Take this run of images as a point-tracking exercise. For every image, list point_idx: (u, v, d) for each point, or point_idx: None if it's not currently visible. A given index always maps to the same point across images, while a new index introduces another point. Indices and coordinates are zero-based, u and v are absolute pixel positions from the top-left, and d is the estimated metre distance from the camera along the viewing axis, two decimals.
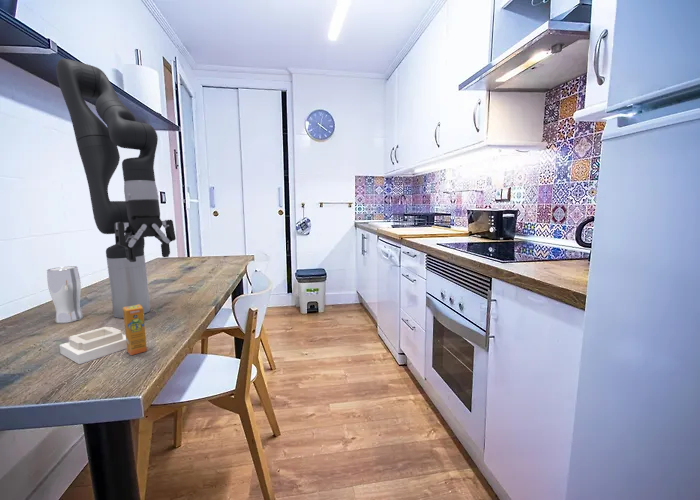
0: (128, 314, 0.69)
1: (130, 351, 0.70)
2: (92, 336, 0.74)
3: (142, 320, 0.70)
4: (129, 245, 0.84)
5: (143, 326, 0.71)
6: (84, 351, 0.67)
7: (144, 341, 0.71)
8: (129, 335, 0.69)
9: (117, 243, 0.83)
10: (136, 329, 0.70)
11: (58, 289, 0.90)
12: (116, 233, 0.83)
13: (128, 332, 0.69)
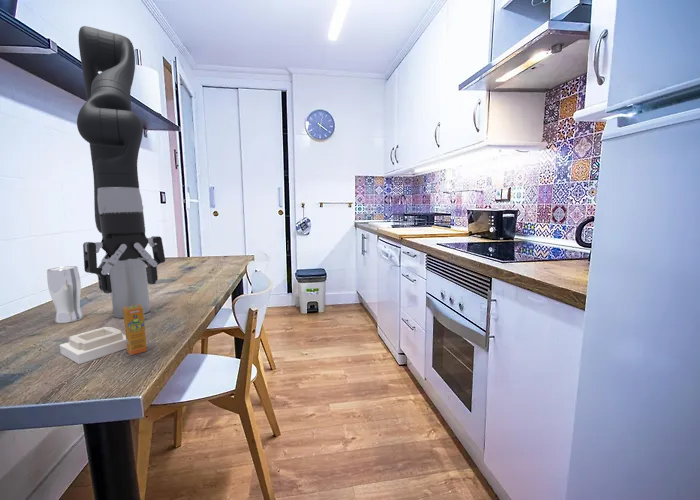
0: (128, 314, 0.68)
1: (130, 351, 0.70)
2: (92, 336, 0.74)
3: (142, 320, 0.70)
4: (103, 272, 0.64)
5: (143, 326, 0.71)
6: (84, 351, 0.67)
7: (144, 341, 0.71)
8: (129, 335, 0.69)
9: (86, 270, 0.63)
10: (136, 329, 0.70)
11: (58, 289, 0.90)
12: (85, 256, 0.63)
13: (128, 332, 0.69)
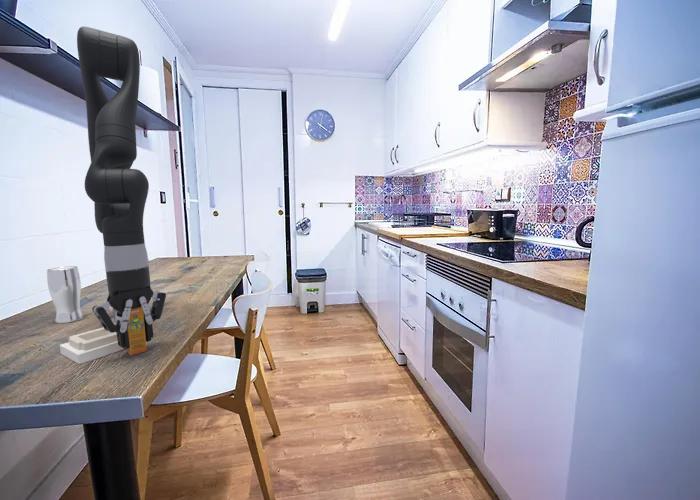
0: None
1: (130, 351, 0.70)
2: (92, 336, 0.74)
3: (142, 320, 0.70)
4: (121, 330, 0.68)
5: (143, 326, 0.71)
6: (84, 351, 0.67)
7: (144, 341, 0.71)
8: (129, 335, 0.69)
9: (106, 329, 0.67)
10: (136, 329, 0.70)
11: (58, 289, 0.90)
12: (100, 320, 0.66)
13: (128, 332, 0.69)
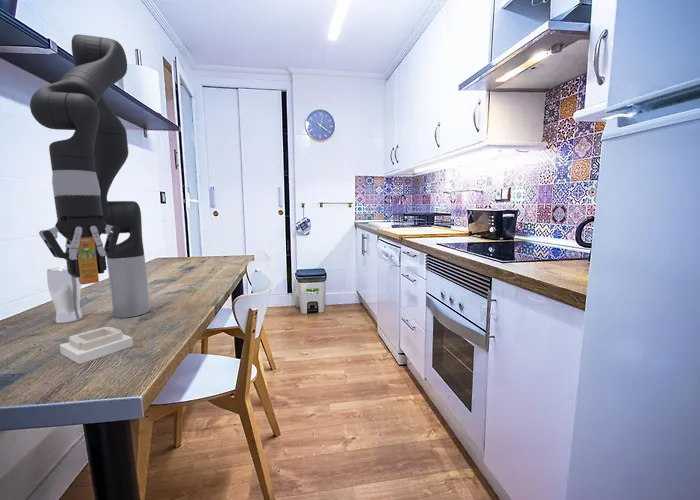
0: None
1: (81, 280, 0.69)
2: (92, 336, 0.74)
3: (93, 250, 0.70)
4: (70, 257, 0.67)
5: (94, 256, 0.70)
6: (84, 351, 0.67)
7: (96, 271, 0.71)
8: (79, 263, 0.69)
9: (55, 255, 0.66)
10: (87, 258, 0.69)
11: (58, 289, 0.90)
12: (47, 244, 0.65)
13: (78, 260, 0.69)
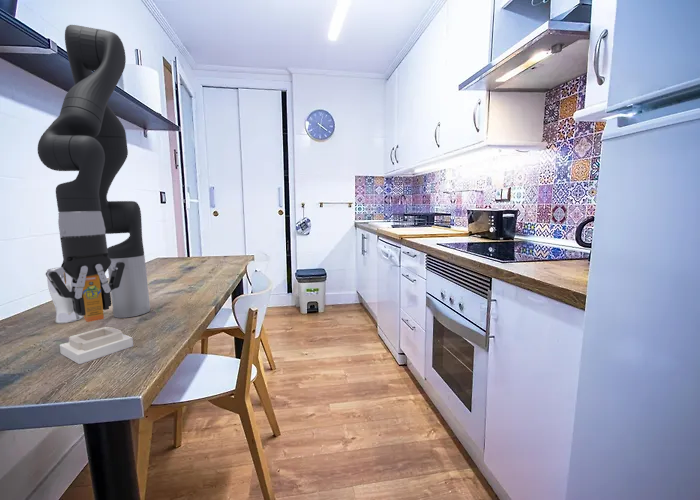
0: None
1: (86, 318, 0.70)
2: (92, 336, 0.74)
3: (98, 287, 0.71)
4: (76, 296, 0.68)
5: (100, 293, 0.71)
6: (84, 351, 0.67)
7: (101, 309, 0.72)
8: (85, 302, 0.70)
9: (61, 295, 0.67)
10: (93, 296, 0.70)
11: None
12: (53, 285, 0.66)
13: (84, 299, 0.69)
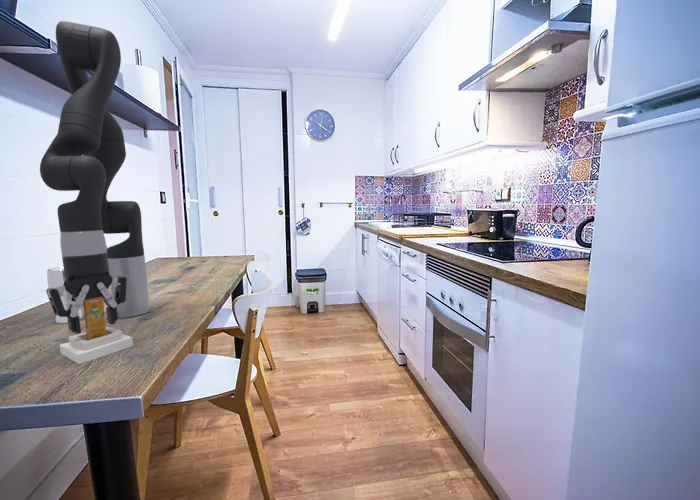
0: (87, 303, 0.70)
1: None
2: None
3: (102, 309, 0.72)
4: (71, 315, 0.68)
5: (103, 315, 0.72)
6: (84, 351, 0.67)
7: (104, 330, 0.72)
8: (88, 324, 0.70)
9: (56, 313, 0.67)
10: (96, 318, 0.71)
11: None
12: (51, 302, 0.66)
13: (87, 321, 0.70)
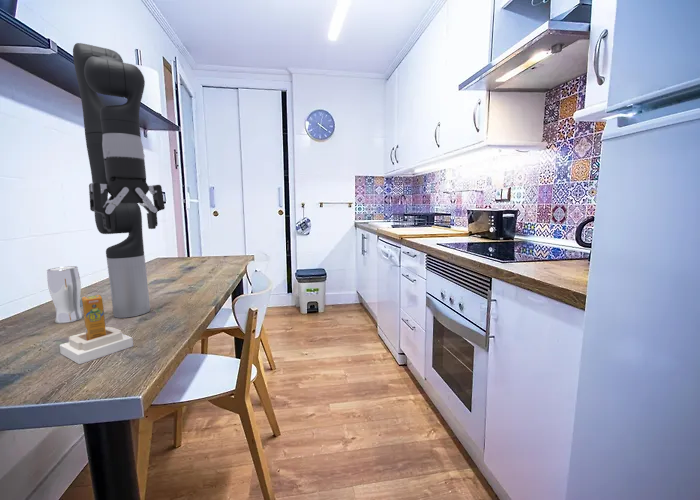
0: (87, 303, 0.70)
1: None
2: None
3: (101, 310, 0.72)
4: (106, 211, 0.70)
5: (102, 316, 0.72)
6: (84, 351, 0.67)
7: (104, 330, 0.72)
8: (88, 324, 0.70)
9: (92, 208, 0.69)
10: (95, 318, 0.71)
11: (58, 289, 0.90)
12: (91, 196, 0.69)
13: (87, 321, 0.70)
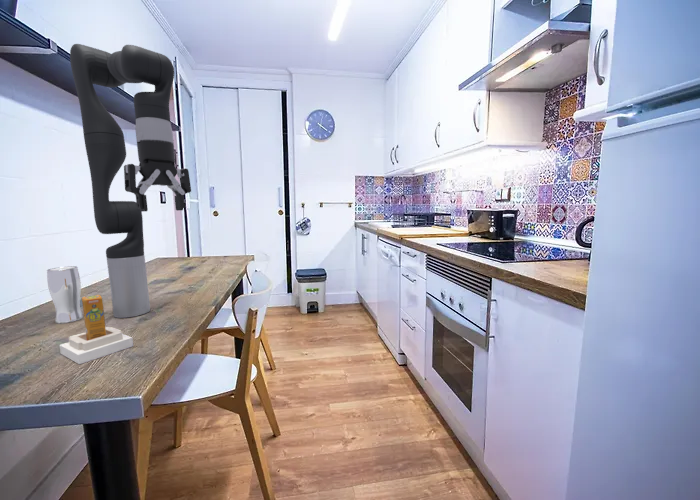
0: (87, 303, 0.70)
1: None
2: None
3: (101, 310, 0.72)
4: (140, 191, 0.74)
5: (102, 316, 0.72)
6: (84, 351, 0.67)
7: (104, 330, 0.72)
8: (88, 324, 0.70)
9: (127, 188, 0.73)
10: (95, 318, 0.71)
11: (58, 289, 0.90)
12: (126, 177, 0.73)
13: (87, 321, 0.70)
